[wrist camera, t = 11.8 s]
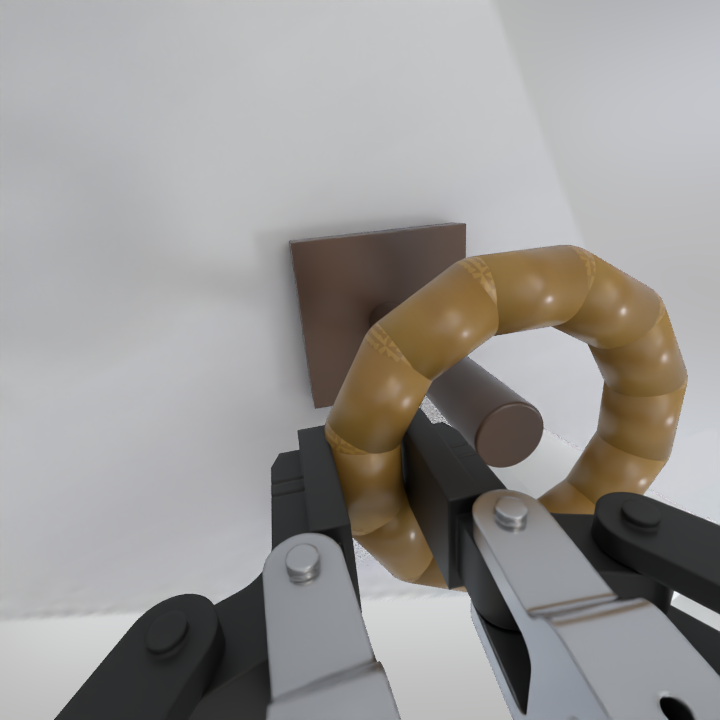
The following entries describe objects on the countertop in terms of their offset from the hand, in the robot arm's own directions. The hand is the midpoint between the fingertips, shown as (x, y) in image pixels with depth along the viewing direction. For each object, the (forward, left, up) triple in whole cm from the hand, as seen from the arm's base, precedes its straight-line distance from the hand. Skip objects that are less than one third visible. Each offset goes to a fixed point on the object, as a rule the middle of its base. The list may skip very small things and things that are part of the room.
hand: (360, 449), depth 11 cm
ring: (+4, 0, +1) cm, 4 cm away
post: (+4, 0, -13) cm, 13 cm away
